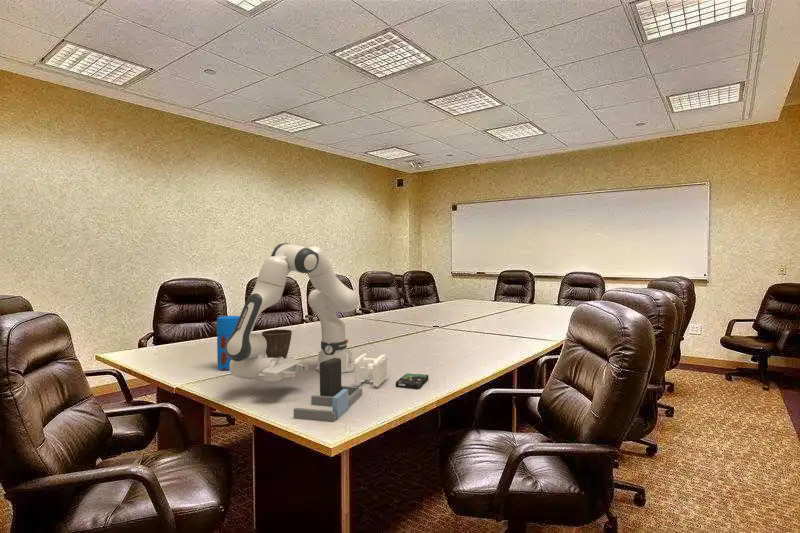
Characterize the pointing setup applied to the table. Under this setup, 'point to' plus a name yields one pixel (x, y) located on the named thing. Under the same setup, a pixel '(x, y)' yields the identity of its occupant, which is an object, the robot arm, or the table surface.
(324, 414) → the comb rack
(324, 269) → the robot arm
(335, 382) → the card reader
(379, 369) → the cable organizer
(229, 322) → the thermos
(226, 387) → the table surface
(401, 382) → the disk drive
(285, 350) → the plant pot
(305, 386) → the table surface
